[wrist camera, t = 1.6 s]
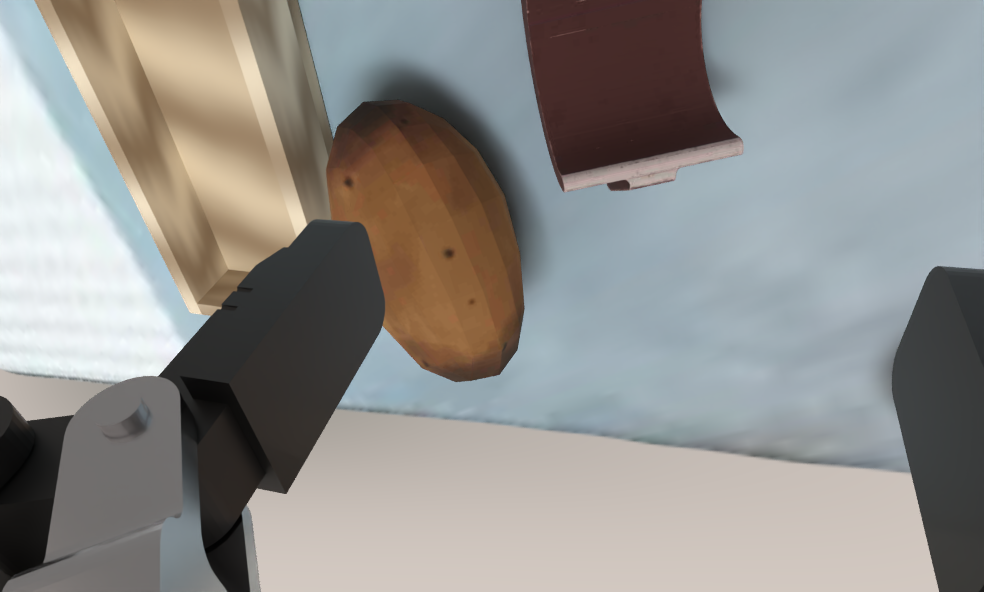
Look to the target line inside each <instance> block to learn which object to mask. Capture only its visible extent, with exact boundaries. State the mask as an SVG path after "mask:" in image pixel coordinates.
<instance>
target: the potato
mask: <svg viewBox="0 0 984 592" xmlns="http://www.w3.org/2000/svg"><path fill="white" fill-rule="evenodd" d="M326 180H327V188H328V196H329V204H330V212H331V220H336V221H350V222H359V223H361V224H362V225H363V226H364V227H365V228H366V230H367V233H368V236H369V240H370V243H371V247H372V251H373V255H374V259H375V262H376V266H377V270H378V274H379V277H380V281H381V285H382V289H383V292H384V297H385V316H384V321H383V325H382V326H383V327H384V328H385V329H386V330H387V331H388V332H389V333H390V334H391V335H392V336H393V338H394V339H395V340H396V341H397V342H398V343H399V344H400V345H401V346H402V347H403V348H404V349H405V350H406V351H407V353H408V354H409V355H410V356H411V357H412V358H413V359H414V360H415V361H416V362H417V363H418V364H419V365H420V366H421V368H423V369H425V370H428V371H430V372H433V373H435V374H437V375H440V376H442V377H445V378H447V379H450V380H452V381H454V382H462V381H472V380H477V379H482V378H486V377H491V376H496V375H500V373H501V372H502V370H503V369H504V368H505V366H506V365H507V364H508V362H509V361H510V359H511V358H512V357H513V355H514V354H515V353H516V351H517V349H518V344H519V338H520V332H521V326H522V320H523V315H524V296H523V284H522V271H521V259H520V251H519V247H518V243H517V240H516V236H515V232H514V229H513V225H512V221H511V217H510V214H509V210H508V206H507V203H506V199H505V195H504V193H503V192H502V190H501V188H500V187H499V185H498V183H497V182H496V180H495V178H494V177H493V175H492V173H491V172H490V170H489V168H488V167H487V165H486V163H485V162H484V160H483V158H482V157H481V155H480V153H479V152H478V150H477V149H476V148H475V147H474V146H473V145H472V144H471V143H470V142H469V141H467V140H466V139H465V138H464V137H463V136H462V135H461V134H460V133H459V132H458V131H457V130H456V129H455V128H454V127H452V126H451V125H450V124H449V123H448V122H447V121H446V120H445V119H444V118H442V117H439V116H437V115H435V114H433V113H431V112H428V111H426V110H424V109H422V108H420V107H417V106H415V105H413V104H411V103H408V102H404V101H401V100H387V101H371V102H363V103H362V104H361V105H360V106H359V107H357V108H356V109H355V110H354V111H353V112H352V113H351V114H350V115H349V116H348V117H347V118H346V119H345V120H344V121H343V122H342V123H341V124H340V125H339V126H338V127H337V130H336V133H335V137H334V141H333V144H332V148H331V152H330V156H329V159H328V163H327V167H326Z"/></svg>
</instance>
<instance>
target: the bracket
mask: <svg viewBox="0 0 984 592" xmlns="http://www.w3.org/2000/svg"><path fill="white" fill-rule="evenodd" d="M521 4H522V13H523V21H524V28H525V35H526V42H527V49H528V55H529V61H530V67H531V73H532V78H533V84H534V89H535V94H536V99H537V104H538V109H539V113H540V118H541V122H542V127H543V131H544V135H545V139H546V143H547V147H548V151H549V154H550V158H551V161H552V165H553V168H554V171H555V174H556V177H557V179H558V182H559V184H560V186H561V188H562V190H563V192H569V191H573V190H578V189H583V188H587V187H592V186H597V185H601V184H606V183H607V186H608V188H609V189H610V190H611V191H623V190H633V189H637V188H642V187H647V186H651V185H656V184H661V183H665V182H670V181H674V180H675V178H676V172H677V170H678V169H679V168H681V167H685V166H690V165H695V164H699V163H704V162H709V161H713V160H718V159H723V158H727V157H732V156H737V155H741V154H743V149H744V147H743V142H742V139H741V138H740V137H739V136H737V135H736V134H734V133H733V132H732V131H731V130H730V129H729V128H728V126H727V125H726V123H725V122H724V120H723V119H722V117H721V115H720V113H719V111H718V109H717V106H716V104H715V101H714V98H713V95H712V92H711V89H710V85H709V82H708V77H707V73H706V68H705V62H704V55H703V46H702V33H701V7H702V0H521Z"/></svg>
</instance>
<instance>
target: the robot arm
mask: <svg viewBox="0 0 984 592" xmlns="http://www.w3.org/2000/svg"><path fill="white" fill-rule="evenodd" d="M221 305H222V308H221V310H220V309H217V310H216V311H215V312H214V313H213V315H212V316H211V317H210V318H209V319H208V320H207V321H206V323H205V324H204V325H203V326H202V327H201V328H200V329H199V331H198V332H197V333H196V334H195V335H194V336H193V337H192V338H191V340H190V341H189V342H188V343H187V344H186V345H185V346H184V348H183V349H182V350H181V351H180V352H179V353H178V354H177V356H176V357H175V358H174V359H173V360H172V361H171V362H170V364H169V365H168V366H167V367H166V368H165V369H164V370H163V372H162V373H161V374H160V375H159V376H158V377H156V376H143V377H136V378H132V379H128V380H125V381H122V382H120V383H117V384H115V385H113V386H111V387H109V388H106V389H105V390H103V391H101V392H100V393H98V394H97V395H95V396H94V397H93V398H91V399H90V400H89V401H88V402H86V403H85V404H84V405H83V406H82V407H81V408H80V409H79V410H78V411H77V412H76V414H75V415H71V416H63V417H55V418H47V419H39V420H31V421H26V420H25V419H24V418H23V417H22V416H21V414H20V413H19V412H18V411H17V410H16V408H15V407H14V406H13V405H12V404H11V403H10V402H9V401H8V400H7V399H6V398H4V397H2V396H0V592H261V589H260V581H259V573H258V565H257V556H256V548H255V540H254V531H253V523H252V516H251V512H250V510H249V508H248V506H247V503H248V501H249V500H250V498H251V497H252V495H253V493H254V492H255V490H256V489H257V488H258V489H263V490H269V491H273V492H278V493H283V494H287V492H288V490H289V488H290V487H291V485H292V483H293V482H294V480H295V478H296V476H297V475H298V473H299V471H300V469H301V467H302V466H303V464H304V462H305V461H306V459H307V457H308V456H309V454H310V452H311V450H312V449H313V447H314V445H315V443H316V442H317V440H318V438H319V437H320V435H321V433H322V431H323V430H324V428H325V426H326V424H327V423H328V421H329V419H330V418H331V416H332V414H333V412H334V411H335V409H336V407H337V405H338V404H339V402H340V400H341V399H342V397H343V395H344V393H345V392H346V390H347V388H348V386H349V385H350V383H351V381H352V380H353V378H354V376H355V374H356V373H357V371H358V369H359V367H360V366H361V364H362V362H363V361H364V359H365V357H366V355H367V354H368V352H369V350H370V348H371V347H372V345H373V343H374V342H375V340H376V338H377V336H378V335H379V333H380V331H381V328H382V325H383V321H384V316H385V297H384V292H383V289H382V285H381V281H380V277H379V274H378V270H377V266H376V262H375V259H374V255H373V251H372V247H371V243H370V240H369V236H368V233H367V230H366V228H365V227H364V226H363V225H362V224H361V223H359V222H350V221H336V220H322V219H315V220H312V221H311V222H310V223H309V224H308V225H307V226H306V227H305V228H304V229H303V231H302V232H301V233H300V234H299V235H298V236H297V238H296V239H295V240H294V241H293V242H292V244H291V245H290V246H289V247H283V248H281V249H280V250H278V251H277V252H275V253H274V254H272V255H271V256H269V257H268V258H266V259H265V260H263V261H261V262H260V263H258V264H257V265H256V266H255V267H254V268H253V269H252V270H251V271H250V272H249V274H248V275H247V276H246V277H245V278H244V279H243V280H242V282H241V283H240V284H239V285H238V286H237V291H233V292H232V293H231V294H230V295H229V296H228V298H227V299H226V300H225V301H224V302H223V303H222V304H221ZM892 392H893V398H894V403H895V407H896V411H897V415H898V420H899V424H900V428H901V432H902V436H903V441H904V445H905V449H906V453H907V458H908V462H909V466H910V470H911V474H912V478H913V483H914V487H915V491H916V496H917V500H918V504H919V508H920V512H921V516H922V521H923V525H924V529H925V534H926V537H927V542H928V546H929V550H930V555H931V559H932V563H933V567H934V572H935V576H936V580H937V584H938V588H939V592H984V269H970V268H956V267H943V266H937V267H935V268H933V269H932V270H931V272H930V273H929V275H928V276H927V278H926V280H925V283H924V285H923V288H922V290H921V293H920V295H919V298H918V300H917V302H916V305H915V307H914V310H913V312H912V315H911V317H910V320H909V322H908V325H907V327H906V330H905V332H904V335H903V337H902V339H901V342H900V344H899V347H898V349H897V352H896V356H895V359H894V364H893V372H892Z"/></svg>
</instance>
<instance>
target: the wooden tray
mask: <svg viewBox="0 0 984 592" xmlns="http://www.w3.org/2000/svg"><path fill="white" fill-rule="evenodd" d="M35 2H36V4H37V6H38V8H39V10H40V12H41V14H42V16H43V18H44V20H45V22H46V24H47V26H48V28H49V30H50V32H51V34H52V36H53V38H54V40H55V42H56V44H57V46H58V48H59V50H60V52H61V54H62V56H63V58H64V60H65V63H66V65H67V67H68V69H69V71H70V73H71V75H72V77H73V79H74V81H75V83H76V85H77V87H78V89H79V91H80V93H81V95H82V97H83V99H84V101H85V103H86V105H87V107H88V109H89V111H90V113H91V115H92V117H93V119H94V121H95V123H96V125H97V127H98V129H99V131H100V133H101V135H102V137H103V139H104V141H105V143H106V145H107V147H108V149H109V151H110V153H111V155H112V157H113V159H114V161H115V163H116V165H117V167H118V169H119V171H120V173H121V175H122V177H123V179H124V181H125V183H126V185H127V187H128V189H129V191H130V193H131V195H132V197H133V199H134V201H135V203H136V205H137V207H138V209H139V211H140V213H141V215H142V217H143V219H144V221H145V223H146V225H147V227H148V229H149V231H150V233H151V235H152V237H153V239H154V241H155V243H156V245H157V247H158V249H159V251H160V253H161V255H162V257H163V259H164V261H165V263H166V265H167V267H168V269H169V271H170V273H171V275H172V277H173V279H174V281H175V283H176V285H177V287H178V289H179V291H180V294H181V296H182V298H183V300H184V302H185V304H186V306H187V308H188V310H189V312H190V313H195V314H203V315H210V316H212V315H213V313H214V312H215V311H216V310H217V309H220V310H221V308H222V305H221V304H222V303H223V302H224V301H225V300H226V299H227V298H228V296H229V295H230V294H231V293H232V292H233V291H237V286H238V285H239V284H240V283H241V282H242V280H243V279H244V278H245V277H246V276H247V275H248V274H249V272H250V271H251V270H252V269H253V268H254V267H255V266H256V265H257V264H258V263H260V262H261V261H263V260H265V259H266V258H268V257H269V256H271V255H272V254H274V253H275V252H277V251H278V250H280V249H281V248H283V247H289V246H290V245H291V244H292V242H293V241H294V240H295V239H296V238H297V236H298V235H299V234H300V233H301V232H302V231H303V229H304V228H305V227H306V226H307V225H308V224H309V223H310V222H311V221H312V220H315V219H322V220H331V212H330V204H329V196H328V188H327V180H326V167H327V163H328V159H329V156H330V152H331V148H332V144H333V138H332V134H331V130H330V126H329V122H328V118H327V114H326V110H325V106H324V102H323V98H322V94H321V91H320V87H319V83H318V79H317V75H316V71H315V67H314V63H313V59H312V55H311V51H310V48H309V44H308V40H307V36H306V32H305V28H304V24H303V20H302V16H301V12H300V8H299V5H298V1H297V0H35Z"/></svg>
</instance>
